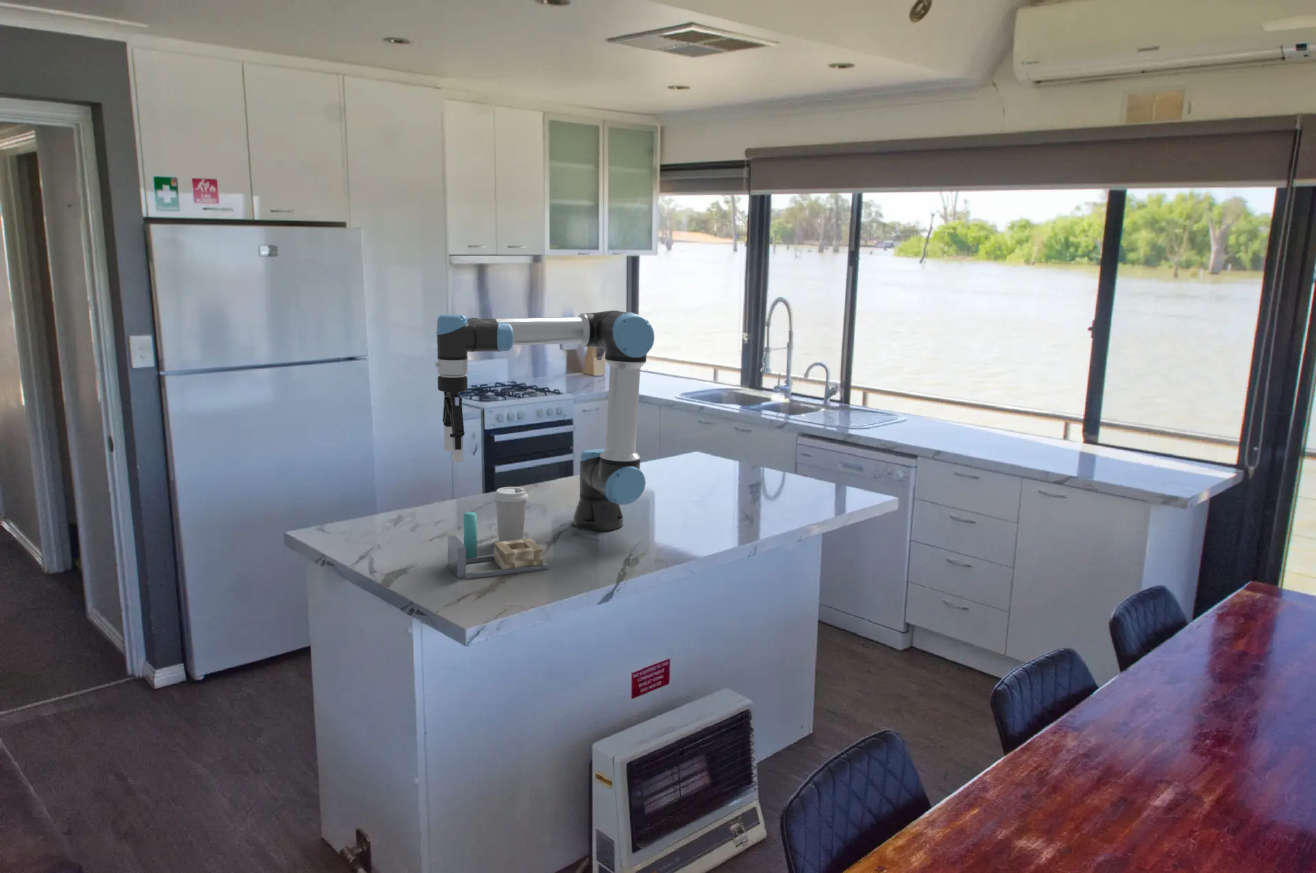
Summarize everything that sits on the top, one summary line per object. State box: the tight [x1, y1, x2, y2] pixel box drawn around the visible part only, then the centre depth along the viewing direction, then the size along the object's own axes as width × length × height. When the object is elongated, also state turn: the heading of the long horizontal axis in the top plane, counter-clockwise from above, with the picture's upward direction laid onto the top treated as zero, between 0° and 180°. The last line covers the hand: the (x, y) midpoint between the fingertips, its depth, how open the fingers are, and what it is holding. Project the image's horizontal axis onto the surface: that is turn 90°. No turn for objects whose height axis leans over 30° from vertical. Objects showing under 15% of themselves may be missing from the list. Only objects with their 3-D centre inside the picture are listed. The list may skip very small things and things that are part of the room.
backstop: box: [447, 535, 549, 580], centre depth 239 cm, size 23×12×8 cm, turn 116°
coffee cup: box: [493, 486, 529, 542], centre depth 260 cm, size 10×10×15 cm
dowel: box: [463, 511, 478, 558], centre depth 246 cm, size 3×3×12 cm
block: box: [493, 538, 544, 569], centre depth 242 cm, size 10×10×5 cm
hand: (453, 456), depth 243 cm, fingers open, 13 cm apart
